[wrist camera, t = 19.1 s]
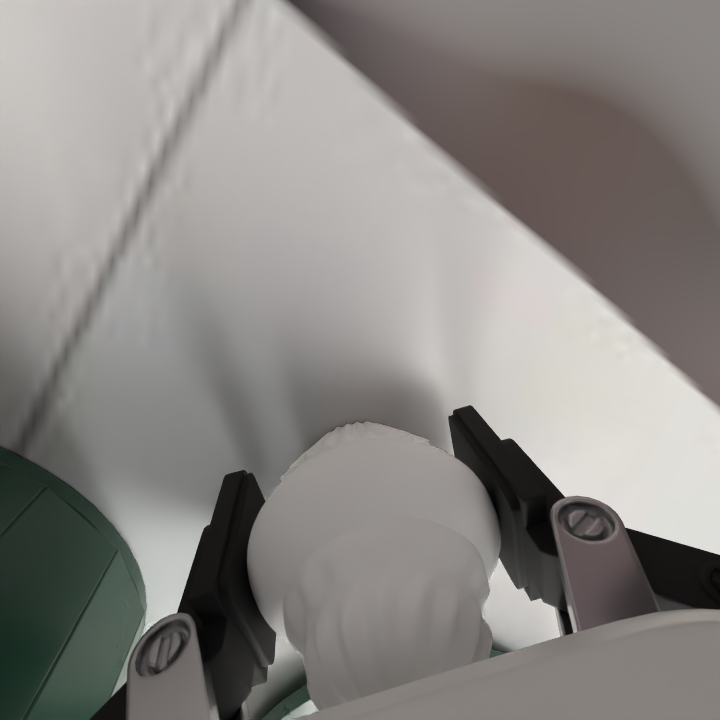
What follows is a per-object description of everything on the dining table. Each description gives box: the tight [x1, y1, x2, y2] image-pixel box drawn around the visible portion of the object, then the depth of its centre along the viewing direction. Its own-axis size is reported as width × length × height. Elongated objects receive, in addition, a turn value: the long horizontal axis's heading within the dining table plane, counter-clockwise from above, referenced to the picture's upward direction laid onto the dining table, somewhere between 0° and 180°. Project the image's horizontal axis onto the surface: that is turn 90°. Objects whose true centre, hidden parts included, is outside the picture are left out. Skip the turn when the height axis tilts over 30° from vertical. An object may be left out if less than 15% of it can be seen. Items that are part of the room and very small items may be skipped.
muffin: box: [247, 421, 501, 711], centre depth 9 cm, size 6×6×7 cm
